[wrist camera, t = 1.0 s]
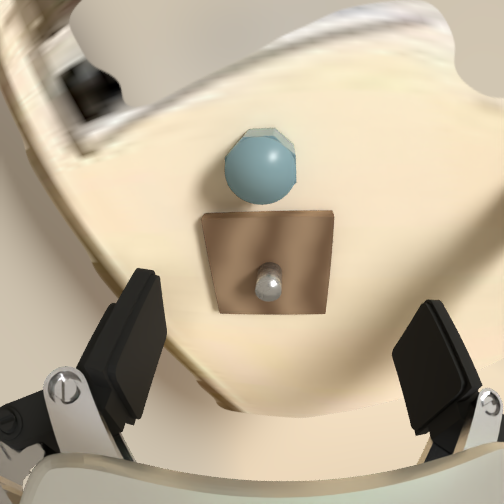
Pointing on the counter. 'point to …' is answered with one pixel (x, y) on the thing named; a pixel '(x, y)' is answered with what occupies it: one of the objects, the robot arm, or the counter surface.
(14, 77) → the counter surface
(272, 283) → the post
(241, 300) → the brown flat square piece
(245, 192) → the cap
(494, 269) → the counter surface
